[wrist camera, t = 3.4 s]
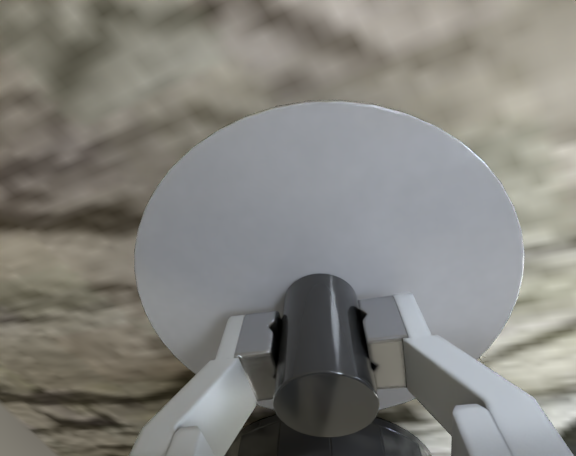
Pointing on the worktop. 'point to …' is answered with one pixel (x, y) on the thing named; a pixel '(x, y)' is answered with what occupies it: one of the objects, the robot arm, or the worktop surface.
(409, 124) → the pot lid
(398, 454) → the pot
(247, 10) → the worktop surface
